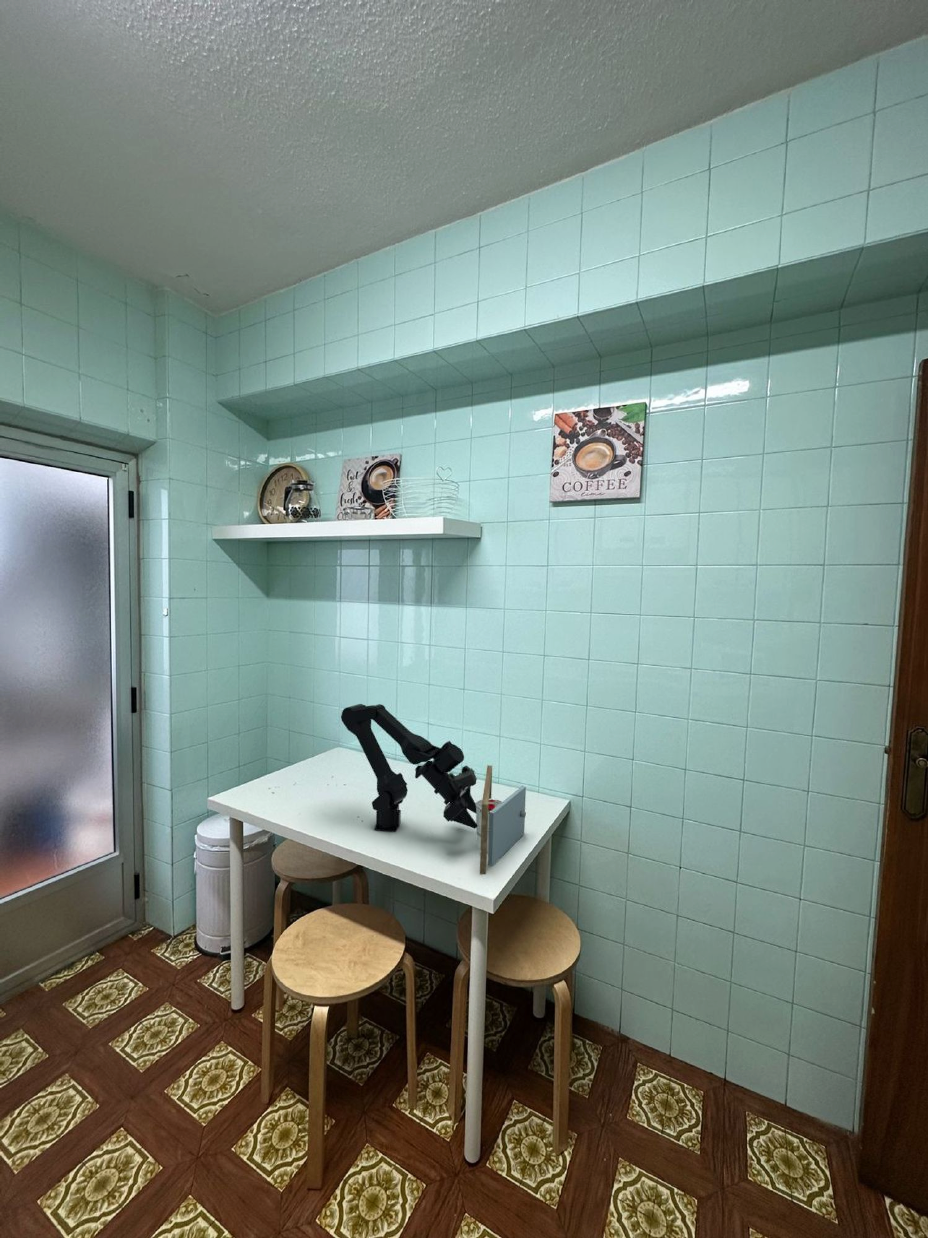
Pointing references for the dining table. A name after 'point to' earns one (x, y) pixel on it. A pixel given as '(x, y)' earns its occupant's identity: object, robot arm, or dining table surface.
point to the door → (506, 824)
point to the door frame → (485, 819)
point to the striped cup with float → (491, 806)
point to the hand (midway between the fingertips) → (477, 820)
